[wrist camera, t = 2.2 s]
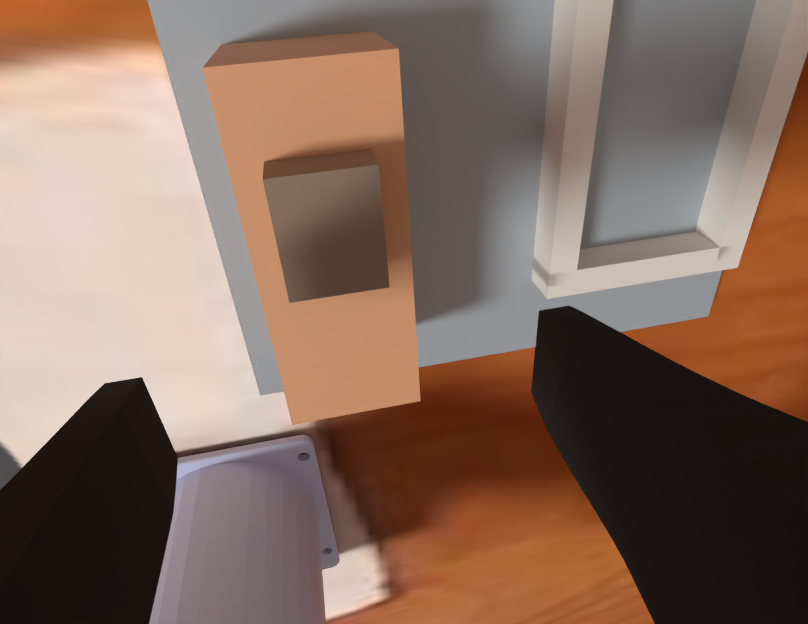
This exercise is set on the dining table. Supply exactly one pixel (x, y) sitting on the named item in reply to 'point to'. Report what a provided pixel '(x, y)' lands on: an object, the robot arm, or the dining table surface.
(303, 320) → the wooden block
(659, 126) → the jig
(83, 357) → the dining table surface
